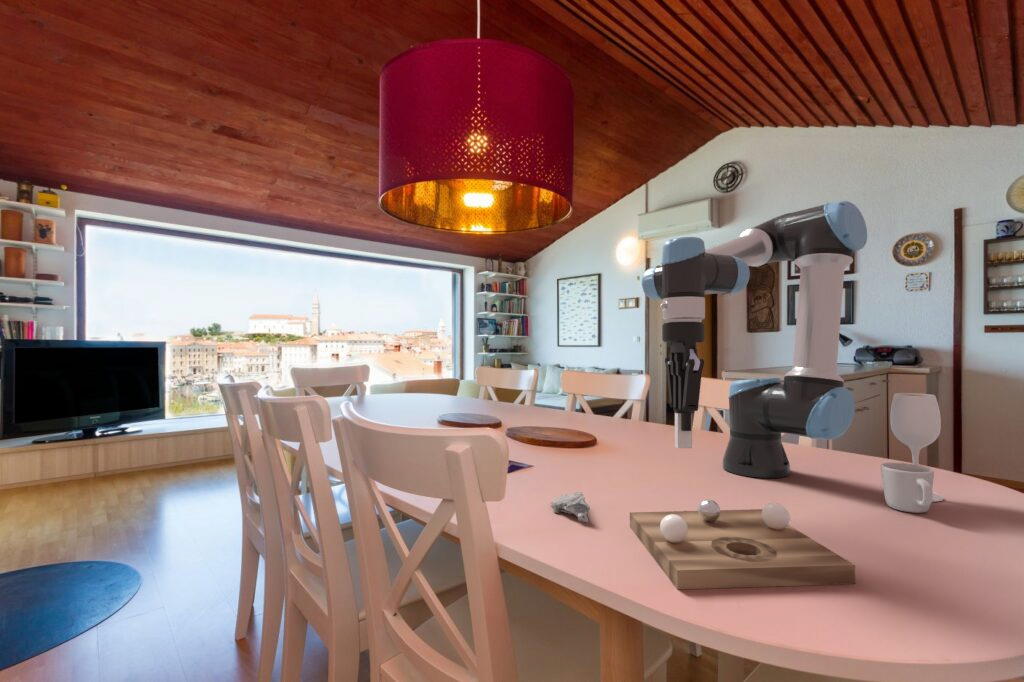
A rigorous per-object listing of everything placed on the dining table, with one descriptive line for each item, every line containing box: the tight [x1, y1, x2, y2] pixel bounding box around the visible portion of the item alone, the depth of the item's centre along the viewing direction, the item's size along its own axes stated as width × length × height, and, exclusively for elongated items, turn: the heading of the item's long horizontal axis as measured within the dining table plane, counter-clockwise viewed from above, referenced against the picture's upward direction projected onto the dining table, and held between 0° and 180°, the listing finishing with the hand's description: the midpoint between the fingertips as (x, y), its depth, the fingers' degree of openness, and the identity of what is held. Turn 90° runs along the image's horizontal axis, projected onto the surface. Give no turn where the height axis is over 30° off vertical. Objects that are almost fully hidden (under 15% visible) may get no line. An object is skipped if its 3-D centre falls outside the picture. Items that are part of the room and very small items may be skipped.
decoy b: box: [660, 514, 688, 543], centre depth 73 cm, size 4×4×4 cm
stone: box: [550, 491, 591, 524], centre depth 93 cm, size 6×12×4 cm, turn 1°
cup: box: [880, 462, 935, 514], centre depth 92 cm, size 11×8×8 cm
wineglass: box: [889, 392, 945, 503], centre depth 102 cm, size 9×9×21 cm
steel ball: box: [697, 499, 721, 522], centre depth 81 cm, size 4×4×4 cm
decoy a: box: [762, 502, 791, 530], centre depth 78 cm, size 4×4×4 cm
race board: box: [629, 508, 856, 590], centre depth 75 cm, size 22×24×2 cm
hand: (683, 447), depth 91 cm, fingers closed
